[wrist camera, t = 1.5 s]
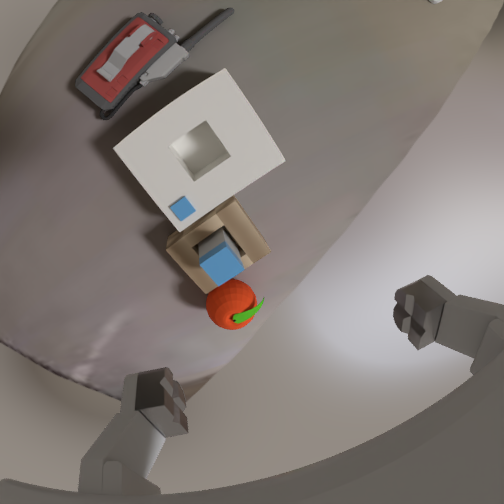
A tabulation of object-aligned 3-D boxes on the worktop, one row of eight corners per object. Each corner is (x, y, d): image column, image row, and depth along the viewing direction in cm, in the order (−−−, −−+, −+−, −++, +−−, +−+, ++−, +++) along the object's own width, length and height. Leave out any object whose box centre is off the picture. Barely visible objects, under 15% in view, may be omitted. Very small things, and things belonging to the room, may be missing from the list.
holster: (231, 191, 36) (235, 200, 32) (264, 238, 39) (271, 251, 36) (168, 236, 37) (165, 249, 33) (204, 278, 40) (205, 294, 37)
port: (221, 74, 29) (225, 67, 24) (274, 154, 34) (286, 161, 30) (124, 143, 30) (112, 148, 26) (181, 217, 36) (179, 233, 31)
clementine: (249, 259, 40) (260, 287, 34) (264, 296, 44) (276, 326, 38) (197, 280, 40) (198, 311, 34) (215, 315, 44) (220, 347, 37)
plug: (220, 222, 36) (226, 246, 30) (236, 242, 38) (244, 269, 32) (198, 238, 36) (199, 264, 30) (214, 257, 38) (218, 286, 32)
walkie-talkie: (120, 131, 30) (237, 17, 26) (110, 133, 26) (243, 5, 22) (74, 92, 26) (188, -20, 22) (59, 90, 22) (188, -35, 18)
